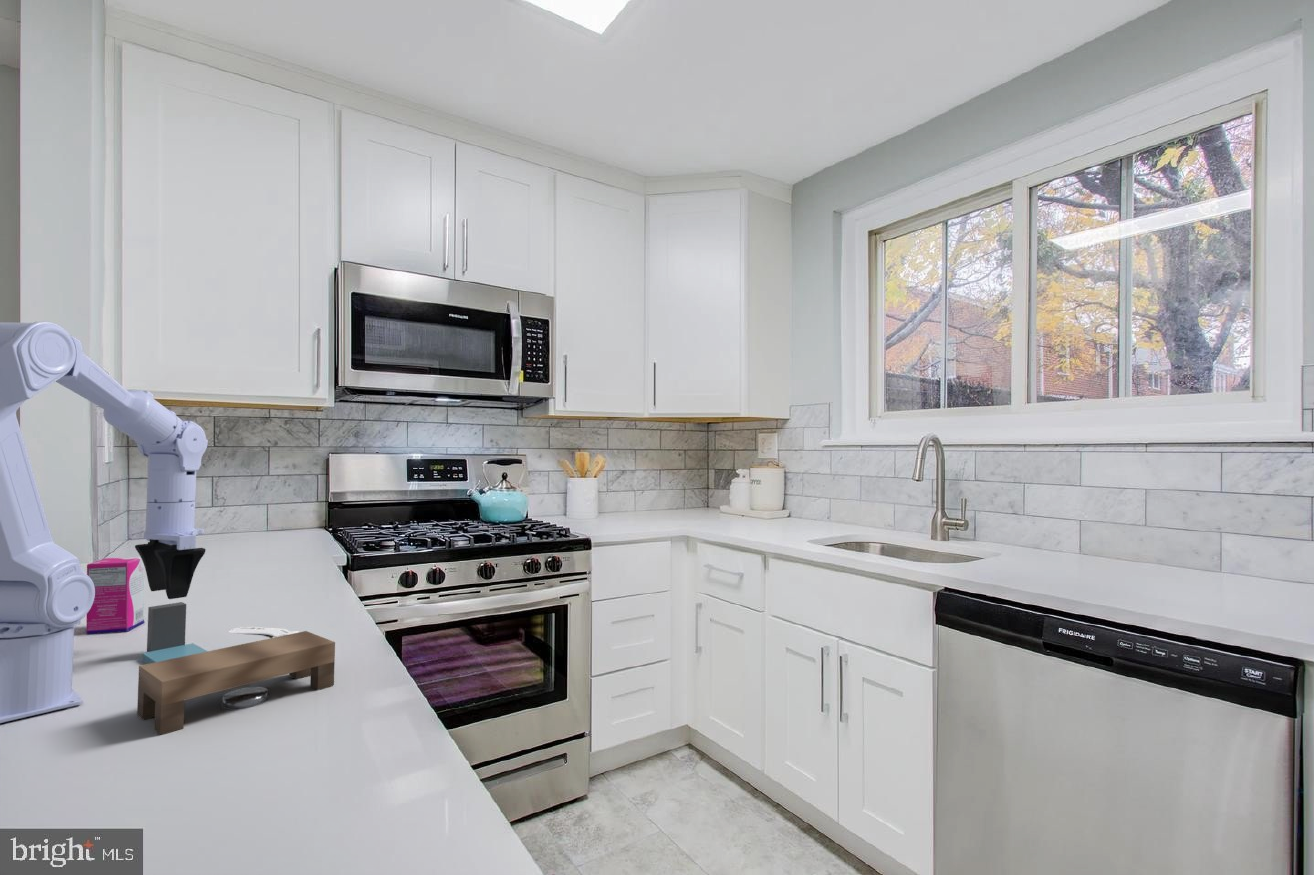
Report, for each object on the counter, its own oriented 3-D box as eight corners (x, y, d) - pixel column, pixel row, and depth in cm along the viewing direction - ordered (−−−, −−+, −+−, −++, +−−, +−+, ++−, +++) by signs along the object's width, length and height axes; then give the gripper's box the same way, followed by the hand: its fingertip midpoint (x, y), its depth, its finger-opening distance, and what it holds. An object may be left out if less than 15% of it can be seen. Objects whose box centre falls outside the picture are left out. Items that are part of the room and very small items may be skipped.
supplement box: (103, 625, 105) (105, 557, 106) (145, 622, 107) (147, 555, 107) (83, 634, 100) (86, 563, 100) (128, 632, 101) (130, 561, 102)
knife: (203, 622, 106) (255, 613, 112) (203, 632, 106) (255, 622, 112) (269, 653, 87) (327, 640, 93) (269, 665, 87) (327, 651, 93)
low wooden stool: (160, 734, 65) (162, 682, 66) (137, 714, 70) (138, 665, 70) (333, 685, 80) (335, 642, 80) (304, 671, 85) (306, 630, 85)
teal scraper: (195, 696, 76) (197, 638, 76) (137, 657, 90) (139, 608, 90) (250, 682, 81) (252, 628, 81) (187, 647, 94) (189, 600, 95)
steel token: (231, 714, 71) (231, 704, 71) (215, 704, 74) (216, 694, 74) (274, 702, 75) (274, 692, 75) (257, 693, 77) (258, 684, 78)
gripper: (221, 502, 91) (218, 596, 91) (186, 497, 99) (183, 582, 99) (162, 505, 85) (158, 605, 85) (130, 499, 94) (127, 590, 94)
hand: (168, 593), depth 92 cm, fingers open, 7 cm apart
